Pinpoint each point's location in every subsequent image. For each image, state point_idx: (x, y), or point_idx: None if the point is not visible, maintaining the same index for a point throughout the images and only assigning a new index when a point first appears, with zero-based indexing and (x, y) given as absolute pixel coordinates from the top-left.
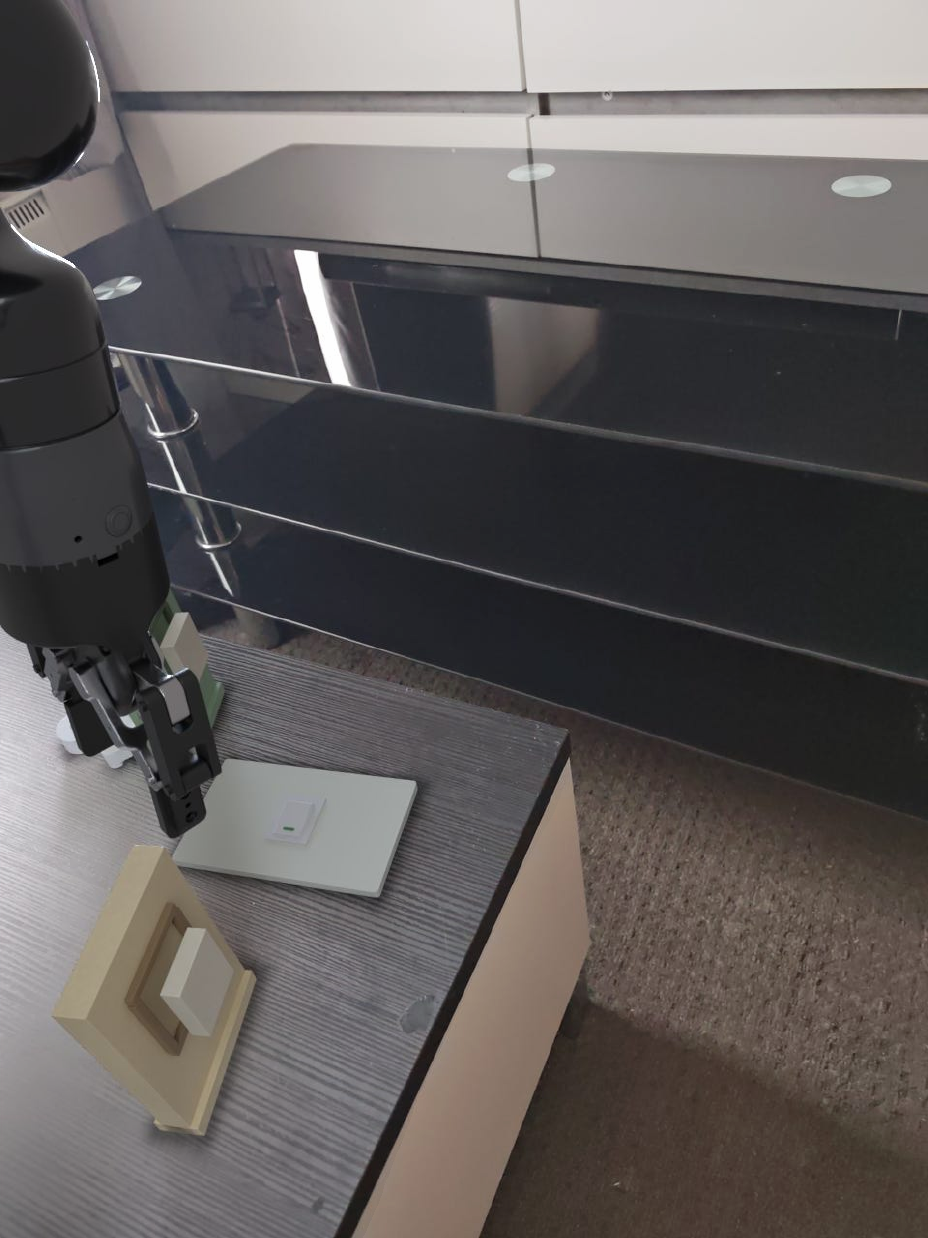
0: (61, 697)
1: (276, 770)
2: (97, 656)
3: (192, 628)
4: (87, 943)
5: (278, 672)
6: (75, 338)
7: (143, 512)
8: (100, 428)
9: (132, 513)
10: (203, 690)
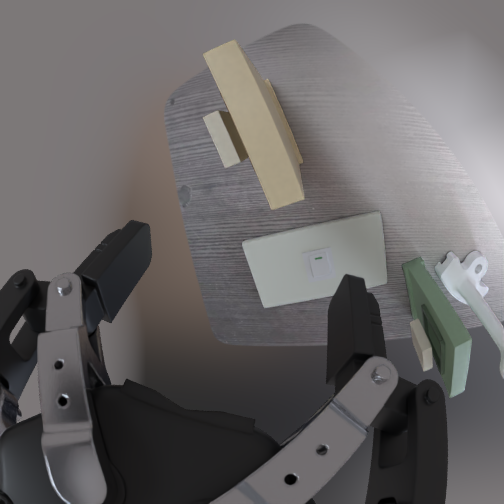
0: (365, 370)
1: None
2: (32, 501)
3: (420, 361)
4: (260, 97)
5: (387, 336)
6: None
7: None
8: None
9: None
10: (419, 316)
